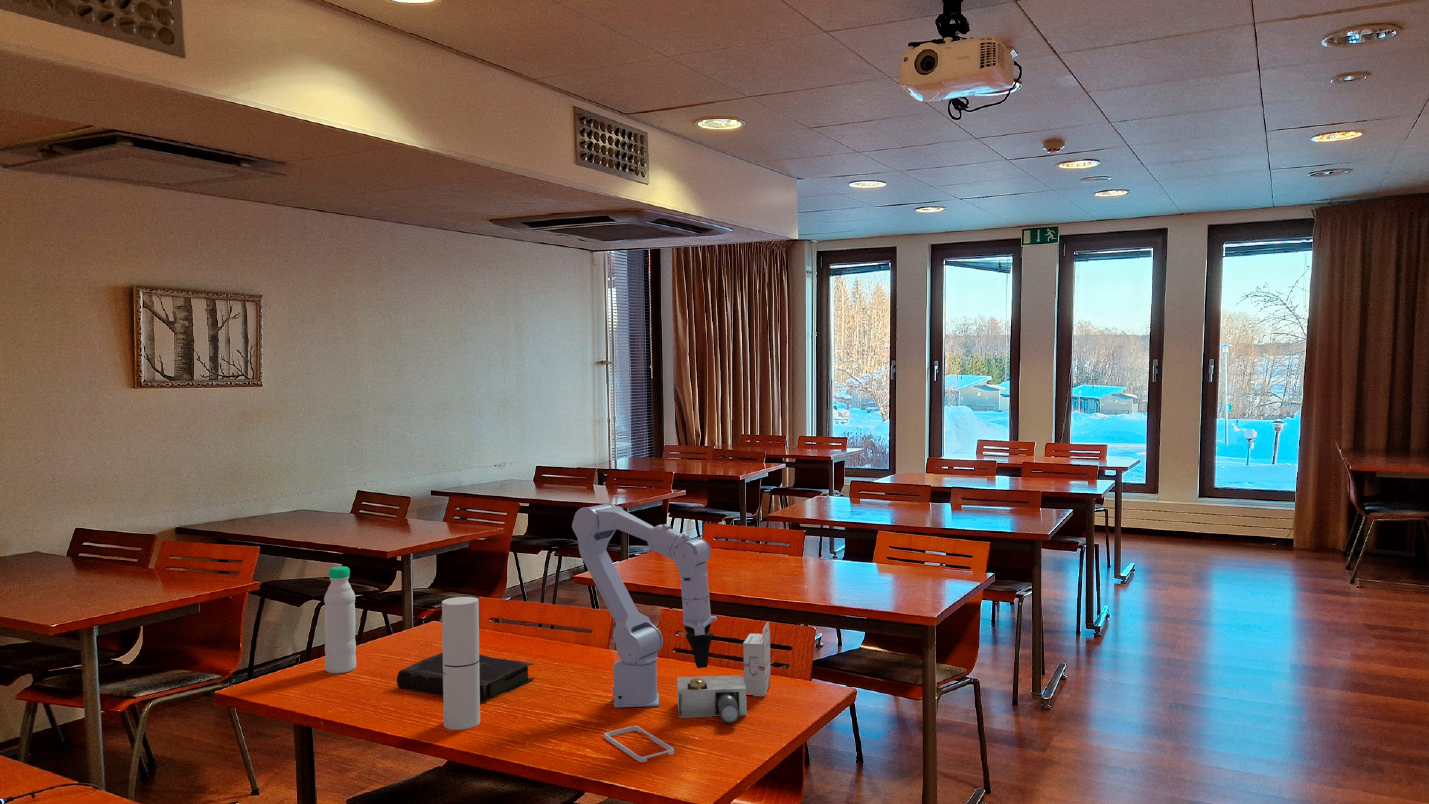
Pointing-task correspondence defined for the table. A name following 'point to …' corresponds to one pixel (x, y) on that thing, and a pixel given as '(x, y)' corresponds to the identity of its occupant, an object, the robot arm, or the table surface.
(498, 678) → the diary
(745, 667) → the ink cartridge box
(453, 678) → the cylindrical container
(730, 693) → the cartridge
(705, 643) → the robot arm
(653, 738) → the phone case
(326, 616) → the water bottle
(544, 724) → the table surface
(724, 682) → the housing
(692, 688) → the plunger
